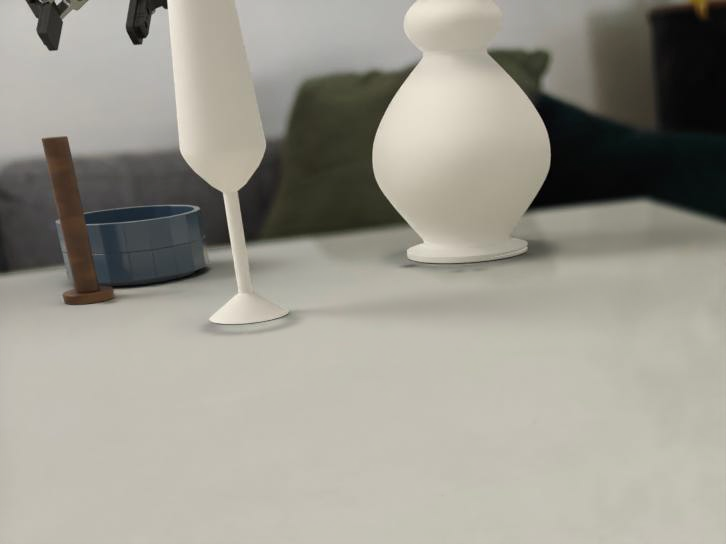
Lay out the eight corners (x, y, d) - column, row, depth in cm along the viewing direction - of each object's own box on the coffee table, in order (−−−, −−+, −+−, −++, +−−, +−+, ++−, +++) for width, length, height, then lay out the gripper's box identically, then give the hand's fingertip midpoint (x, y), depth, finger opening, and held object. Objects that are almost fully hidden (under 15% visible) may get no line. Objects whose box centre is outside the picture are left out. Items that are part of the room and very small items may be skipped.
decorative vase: (585, 251, 113) (581, -39, 101) (423, 275, 106) (398, -32, 95) (504, 233, 127) (492, -23, 116) (357, 253, 121) (328, -16, 109)
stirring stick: (57, 305, 104) (19, 140, 97) (72, 296, 108) (36, 137, 102) (107, 302, 104) (72, 137, 97) (120, 293, 108) (87, 134, 102)
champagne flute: (198, 325, 92) (139, -14, 81) (221, 308, 98) (168, -10, 87) (279, 322, 91) (230, -20, 80) (296, 304, 97) (254, -16, 86)
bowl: (51, 293, 110) (36, 228, 108) (90, 268, 123) (78, 210, 120) (195, 283, 110) (184, 218, 108) (220, 259, 123) (210, 201, 120)
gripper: (27, -120, 108) (-1, 14, 104) (168, -133, 106) (146, 2, 102) (64, -52, 115) (40, 76, 111) (197, -63, 114) (178, 67, 109)
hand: (90, 41), depth 106 cm, fingers open, 8 cm apart
